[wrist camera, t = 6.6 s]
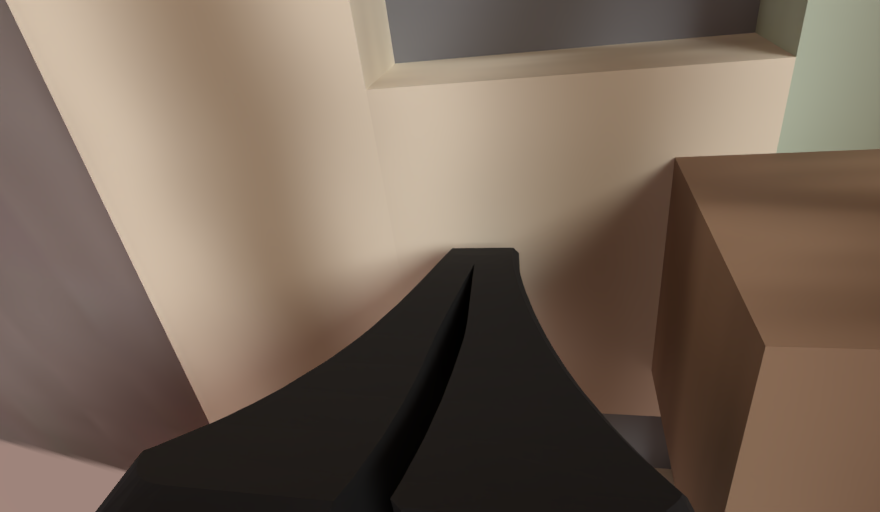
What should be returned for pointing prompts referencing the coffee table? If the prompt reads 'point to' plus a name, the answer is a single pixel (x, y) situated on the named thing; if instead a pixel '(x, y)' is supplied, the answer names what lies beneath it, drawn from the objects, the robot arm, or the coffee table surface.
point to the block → (772, 332)
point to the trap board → (429, 158)
